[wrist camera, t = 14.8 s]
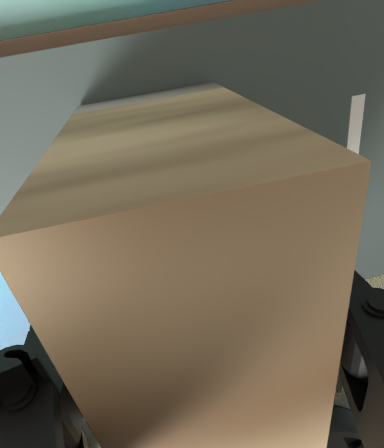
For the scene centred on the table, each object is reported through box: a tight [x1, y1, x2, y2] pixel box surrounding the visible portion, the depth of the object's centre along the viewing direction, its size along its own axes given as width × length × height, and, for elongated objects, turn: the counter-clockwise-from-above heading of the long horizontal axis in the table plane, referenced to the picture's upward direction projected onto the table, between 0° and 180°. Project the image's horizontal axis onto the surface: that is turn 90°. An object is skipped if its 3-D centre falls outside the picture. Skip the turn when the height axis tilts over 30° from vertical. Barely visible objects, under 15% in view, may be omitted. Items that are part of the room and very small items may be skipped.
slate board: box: [0, 0, 384, 279], centre depth 16 cm, size 15×22×2 cm
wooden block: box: [0, 82, 371, 448], centre depth 10 cm, size 10×5×9 cm, turn 8°
